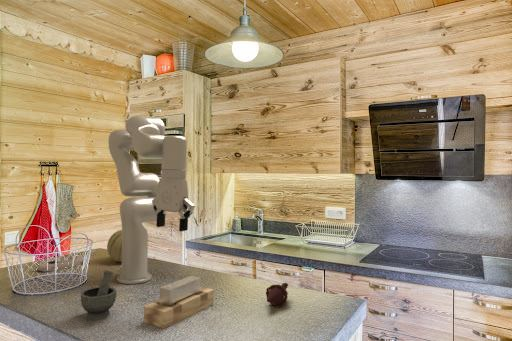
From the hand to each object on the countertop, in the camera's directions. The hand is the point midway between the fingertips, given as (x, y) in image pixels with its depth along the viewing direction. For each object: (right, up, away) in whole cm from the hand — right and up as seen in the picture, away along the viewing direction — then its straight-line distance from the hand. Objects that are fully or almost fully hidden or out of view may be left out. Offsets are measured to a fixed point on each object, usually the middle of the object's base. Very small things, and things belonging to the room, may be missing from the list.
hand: (171, 228), depth 118 cm
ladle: (-55, -23, +42) cm, 73 cm away
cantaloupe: (-34, -23, +52) cm, 66 cm away
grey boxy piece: (+4, -23, -6) cm, 24 cm away
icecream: (+34, -25, 0) cm, 42 cm away
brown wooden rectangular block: (+4, -24, -6) cm, 25 cm away
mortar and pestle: (-19, -24, -9) cm, 32 cm away
